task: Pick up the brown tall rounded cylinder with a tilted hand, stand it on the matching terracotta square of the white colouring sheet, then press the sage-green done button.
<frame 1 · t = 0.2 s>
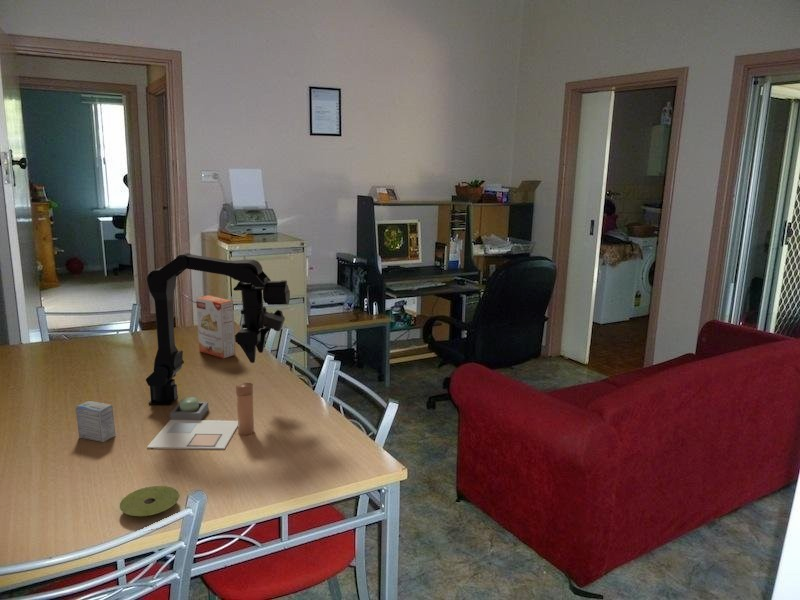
hand: (256, 357, 173), 14 cm above the table, tool pointing down, fingers open, 9 cm apart
colouring sheet: (196, 434, 155), on the table
done button: (189, 405, 166), point 3 cm above the table, slide at 0.0 cm
green disc: (150, 509, 122), on the table
brown tall rounded cylinder: (246, 431, 158), on the table
cracker box: (217, 354, 221), on the table
medicine box: (97, 437, 153), on the table
button housing: (189, 415, 167), on the table
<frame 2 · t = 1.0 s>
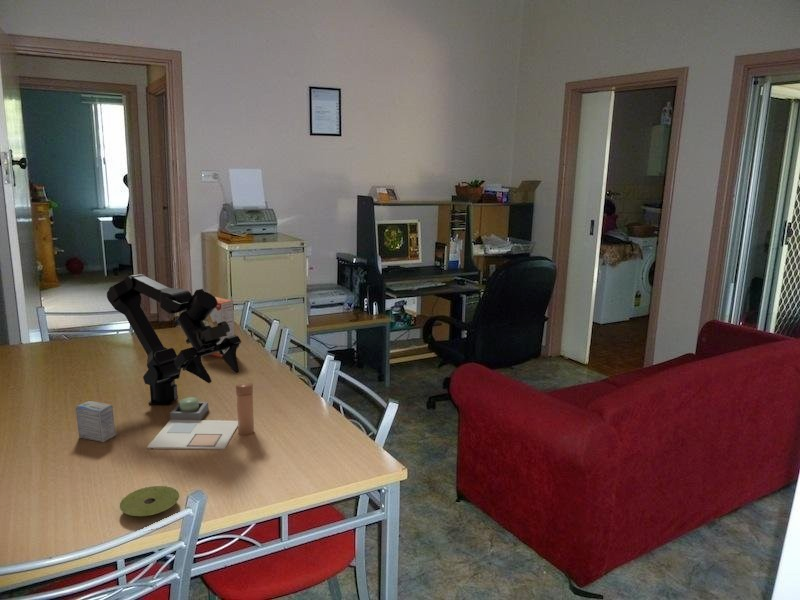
hand: (224, 377, 159), 13 cm above the table, tool tilted 45°, fingers open, 9 cm apart
nothing on the table moved.
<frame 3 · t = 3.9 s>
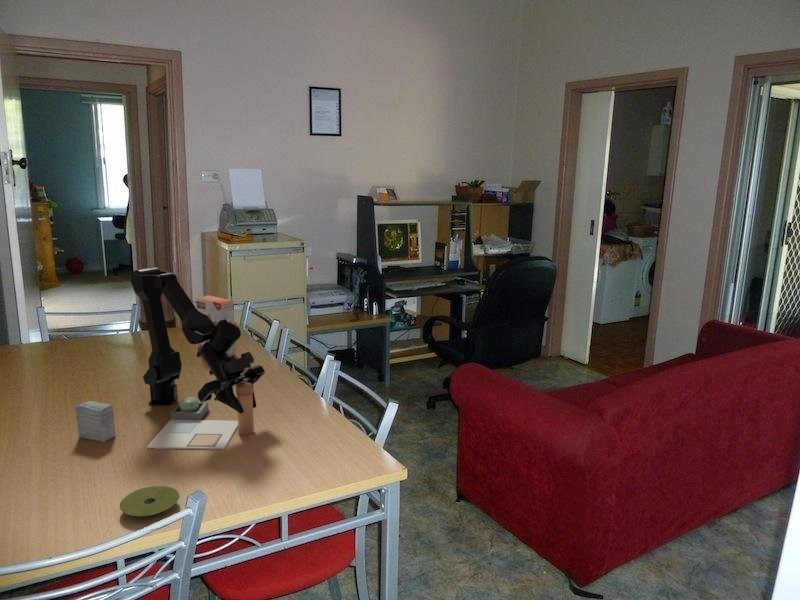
hand: (248, 409, 155), 7 cm above the table, tool tilted 45°, fingers closed on brown tall rounded cylinder, 4 cm apart
brown tall rounded cylinder: (246, 431, 158), on the table, touching gripper
everything else where it was.
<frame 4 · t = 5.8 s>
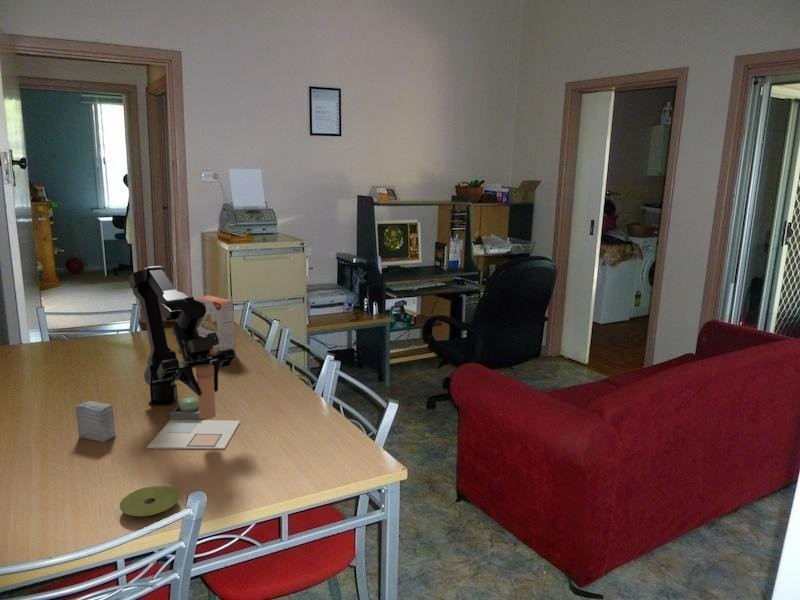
hand: (208, 393, 148), 13 cm above the table, tool tilted 45°, fingers closed on brown tall rounded cylinder, 4 cm apart
brown tall rounded cylinder: (207, 416, 151), point 7 cm above the table, touching gripper
everything else where it was.
when the fingers open (8 cm above the table, at t = 7.5 s): brown tall rounded cylinder stays where it is, resting on colouring sheet.
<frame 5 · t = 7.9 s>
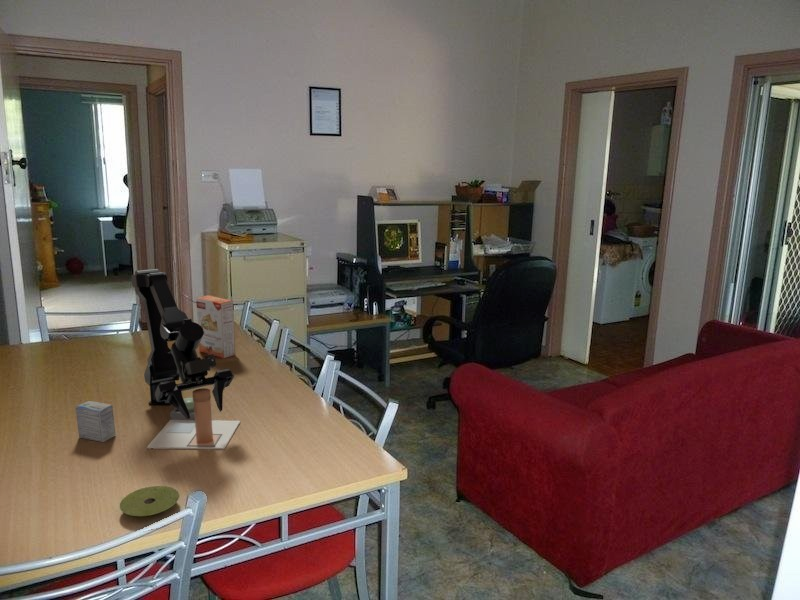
hand: (205, 414, 149), 8 cm above the table, tool tilted 45°, fingers open, 8 cm apart
brown tall rounded cylinder: (204, 439, 151), point 1 cm above the table, touching colouring sheet
everything else where it was.
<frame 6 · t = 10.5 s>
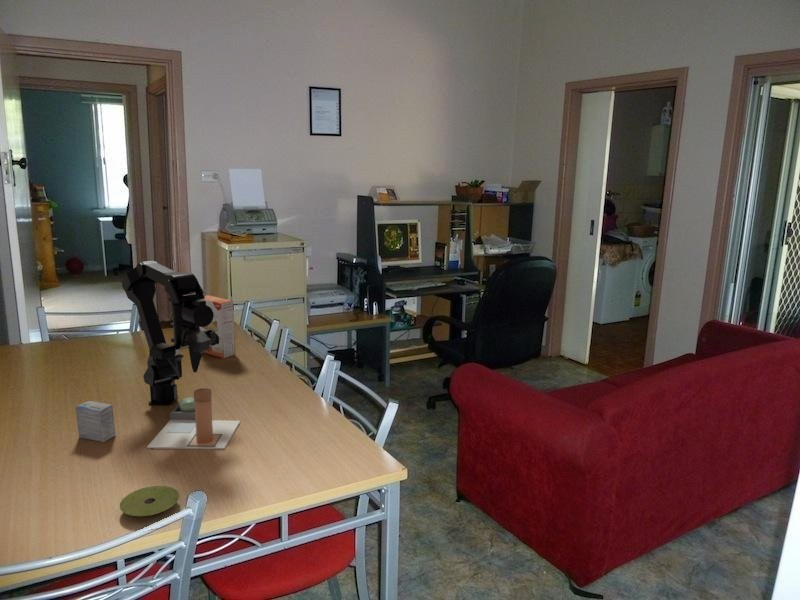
hand: (187, 374, 164), 12 cm above the table, tool pointing down, fingers open, 5 cm apart
nothing on the table moved.
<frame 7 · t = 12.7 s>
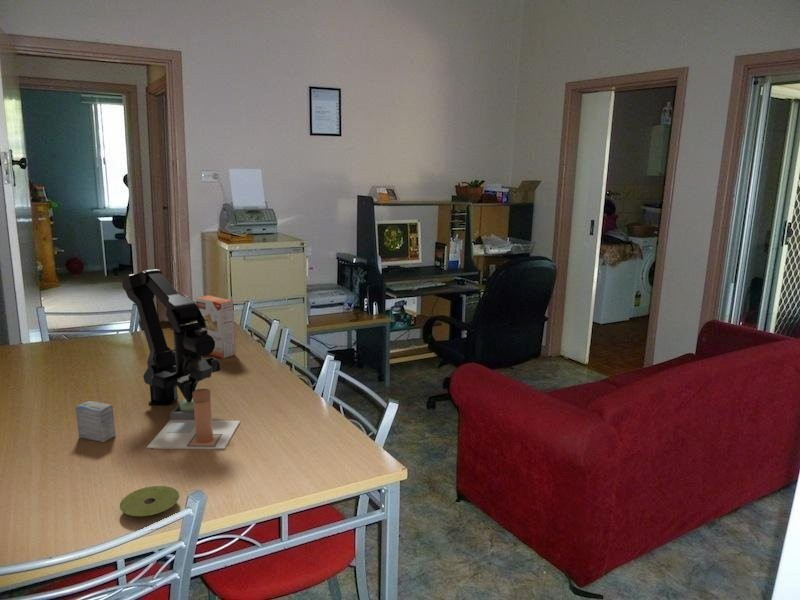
hand: (189, 401, 166), 4 cm above the table, tool pointing down, fingers closed, pressing on done button
done button: (189, 406, 166), point 3 cm above the table, slide at -0.2 cm, touching gripper
everything else where it was.
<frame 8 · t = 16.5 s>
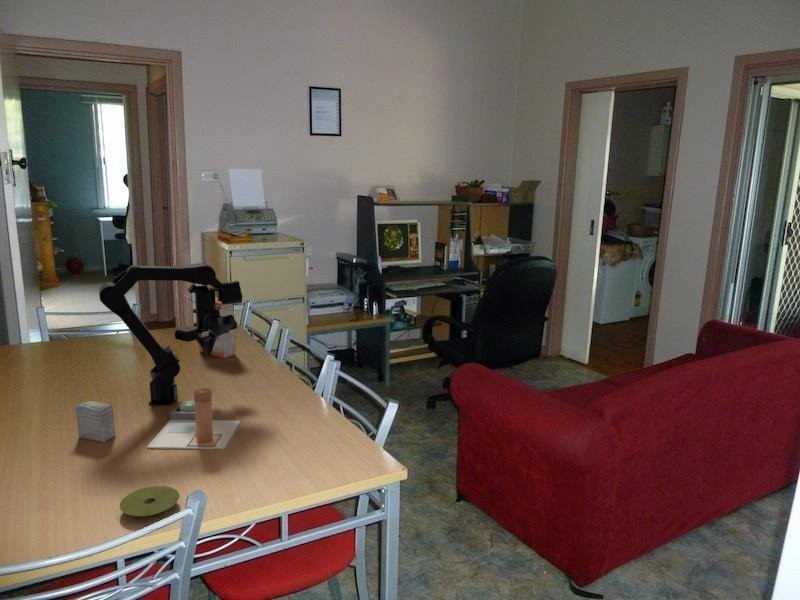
hand: (208, 356, 180), 12 cm above the table, tool pointing down, fingers closed
done button: (189, 409, 167), point 2 cm above the table, slide at -1.0 cm
everything else where it was.
at the end: brown tall rounded cylinder inside the target area (0.0 cm from its centre), point 0.5 cm above the table; brown tall rounded cylinder tilted 1°; done button slide at -1.0 cm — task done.
